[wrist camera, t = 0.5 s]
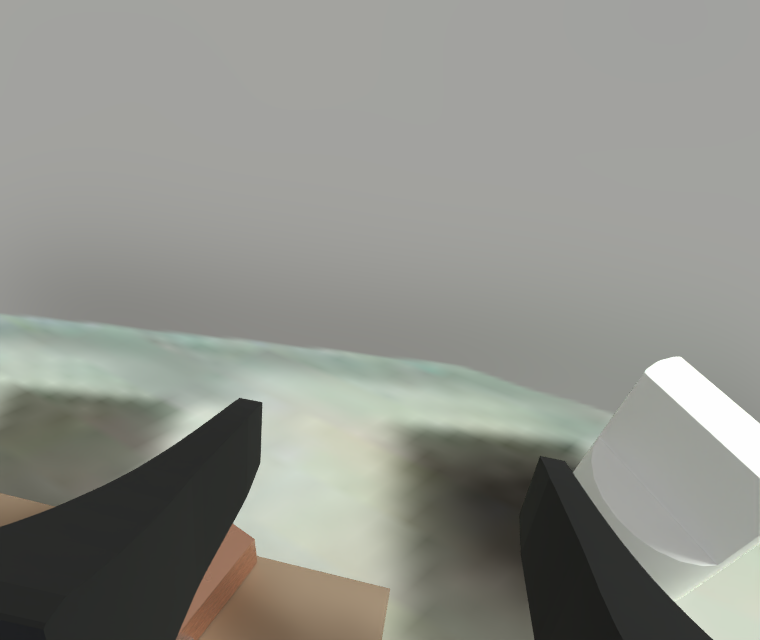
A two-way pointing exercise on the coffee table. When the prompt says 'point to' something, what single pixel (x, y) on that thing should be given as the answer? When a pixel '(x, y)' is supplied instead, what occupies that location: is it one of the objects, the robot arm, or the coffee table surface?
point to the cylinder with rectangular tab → (678, 476)
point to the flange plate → (219, 582)
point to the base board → (277, 599)
